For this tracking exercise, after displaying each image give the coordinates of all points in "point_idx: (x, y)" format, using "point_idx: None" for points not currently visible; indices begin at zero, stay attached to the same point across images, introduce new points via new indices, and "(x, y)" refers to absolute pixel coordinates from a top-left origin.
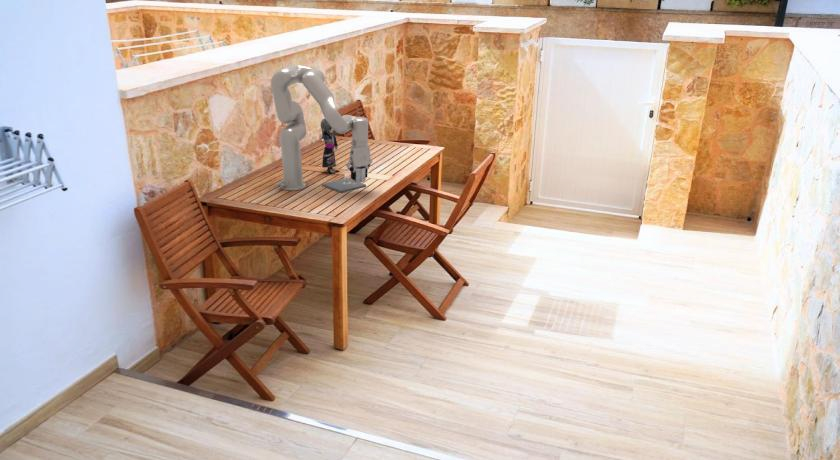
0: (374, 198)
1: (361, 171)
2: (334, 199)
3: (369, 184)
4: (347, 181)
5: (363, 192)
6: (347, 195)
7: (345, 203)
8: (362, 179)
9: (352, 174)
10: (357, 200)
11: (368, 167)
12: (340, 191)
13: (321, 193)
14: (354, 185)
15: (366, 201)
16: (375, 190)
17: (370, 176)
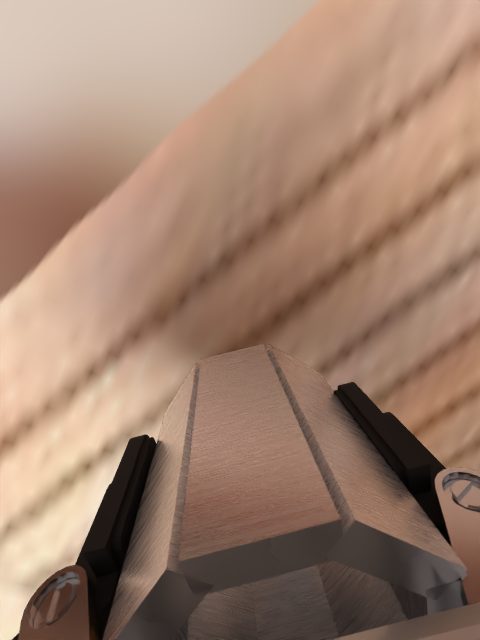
0: (182, 127)
1: (306, 454)
2: (475, 287)
3: (79, 487)
4: None
5: (202, 340)
6: (347, 328)
7: (477, 142)
8: (244, 365)
9: (425, 457)
10: (351, 163)
11: (21, 630)
12: None
13: (458, 435)
14: None
15: (296, 80)
16: (82, 344)
17: (13, 616)
